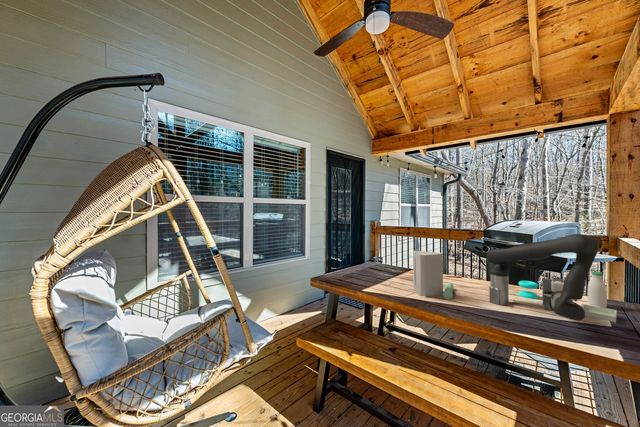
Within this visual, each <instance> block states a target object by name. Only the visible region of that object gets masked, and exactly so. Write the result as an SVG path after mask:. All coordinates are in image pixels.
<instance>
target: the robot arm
mask: <svg viewBox="0 0 640 427" xmlns="http://www.w3.org/2000/svg"><path fill="white" fill-rule="evenodd" d="M599 244H600V243H599V241H598V240H597V239H595V238H593V237H591V236H588V235H586V234H581V233H573V234H569V235H565V236H561V237H558V238H555V239H548V240H541V241H535V242H529V243H523V244H519V245H516V246H512V247H507V248H493V249H490V250H489V251H488V252H487V254H486V259H487V261H488V262H489V263H491V264H493V265H494V266H493V267H492V268H491V269H490V275H489V276H490V286H489V287H488V288H489V290H488V291H489V294H488V295H489V297H488V298H489V302H490V303H492V304H495V305H498V306H500V305H501V306H507V305H509V304H510V302H509V298H510V297H509V295H510V293H509V285H510V284H509V282H510V281H509V280H510V278H509V273H510V271H511V262H518V261H519V262H523V261H524V262H525V261H526V262H527V261H538V260H544V259H547V258H549V257H551V256H554V255H556V254H565V253H566V254H567V253H571V254H575V262H574V263H573V266H572V267H571V269H570V270H569V272H567V274H566V276H565V278H564V280H563V281H564V285H563V290H562V291H556V292H555V291H552V289H550V290H549V291H548V290H545V291H544V297H548V296H550V297H551V298H552V300H553V302H554V303H555V305H554V307H553V310H554V311H553V312H554V313H555V315H557V316H560V317H563V318H566V319H569V320H572V321H577V322H578V321H579V322H580V321H582V320H584V318H585V317H586V316H585V311H584V309H583V308H582V307H581V305H580V304H578V303H577V302H578V300H582V299H583V298H584V293H585V292H584V291H585V287H586V283H587V280H588V276H589V273H590V270H591V268H592V265H593V263H594V261H595V259H596V256H597V254H598V251H599V249H600V245H599ZM574 301H575V302H574Z"/></svg>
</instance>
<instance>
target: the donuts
mask: <svg viewBox="0 0 640 427" xmlns="http://www.w3.org/2000/svg"><path fill="white" fill-rule="evenodd" d="M518 285H519V287H521V288H523V289H527V290H521V291H519V292H518V296H519V297H521V298H524V299H525V298H526V299H531V300H535V299H539V295H538V294H537V293H535V292H533V291H530V290H535V289H537V288H538V287H539V284H538V283H537V282H534V281H530V280H520V281H519V282H518ZM528 290H529V291H528Z"/></svg>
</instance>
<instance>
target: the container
mask: <svg viewBox="0 0 640 427" xmlns="http://www.w3.org/2000/svg"><path fill="white" fill-rule="evenodd" d="M453 292H454V284H453V283H452V282H447V283H446V285H445V287H444V290H443V294H442V297H443V298H444V299H445V298H446V299H447V300H451V299H453V295H454V294H453Z"/></svg>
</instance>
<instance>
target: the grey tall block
mask: <svg viewBox="0 0 640 427" xmlns="http://www.w3.org/2000/svg"><path fill="white" fill-rule="evenodd" d="M552 279H553V281H551V289H552V291H555V292H556V291H562V290H563V285H564V282H563V281H564V279H563V278H554V277H553V278H552ZM555 280H559V281H555ZM551 305H552V307H554V305H555V303H554V302H553V300H552V298H551Z"/></svg>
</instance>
